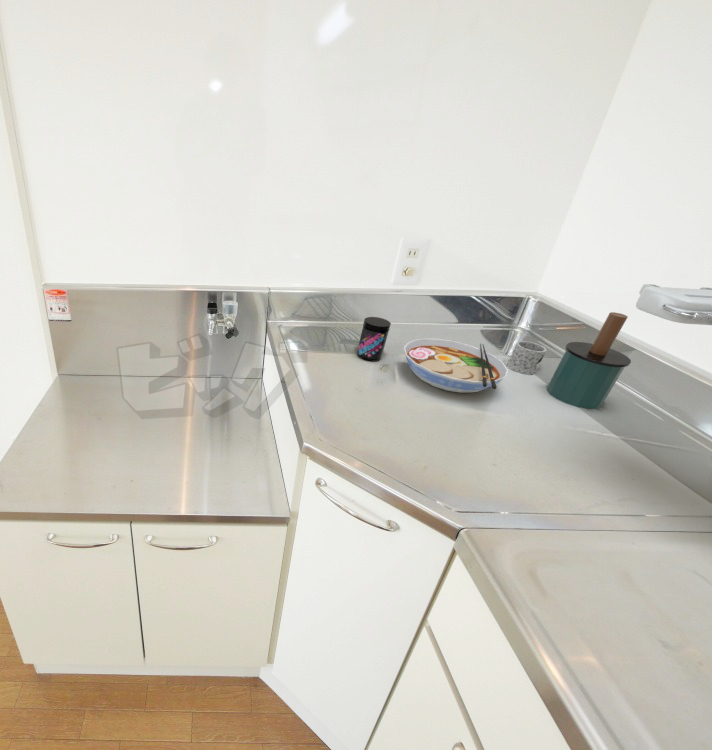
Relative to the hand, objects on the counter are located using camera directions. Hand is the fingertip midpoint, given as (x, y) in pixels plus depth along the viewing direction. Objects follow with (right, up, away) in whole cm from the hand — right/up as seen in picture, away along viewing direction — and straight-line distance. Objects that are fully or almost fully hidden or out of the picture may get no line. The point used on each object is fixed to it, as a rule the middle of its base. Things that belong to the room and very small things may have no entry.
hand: (673, 290), depth 72 cm
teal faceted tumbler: (+6, -21, +28) cm, 36 cm away
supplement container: (-35, -10, +45) cm, 58 cm away
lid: (+7, -10, +22) cm, 25 cm away
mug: (+6, -12, +44) cm, 46 cm away
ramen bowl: (-21, -17, +33) cm, 43 cm away
